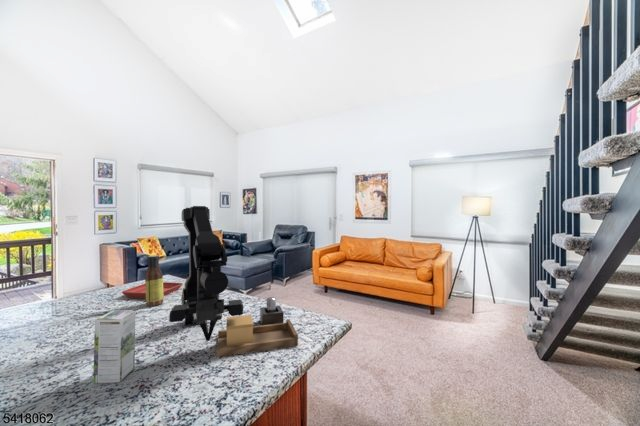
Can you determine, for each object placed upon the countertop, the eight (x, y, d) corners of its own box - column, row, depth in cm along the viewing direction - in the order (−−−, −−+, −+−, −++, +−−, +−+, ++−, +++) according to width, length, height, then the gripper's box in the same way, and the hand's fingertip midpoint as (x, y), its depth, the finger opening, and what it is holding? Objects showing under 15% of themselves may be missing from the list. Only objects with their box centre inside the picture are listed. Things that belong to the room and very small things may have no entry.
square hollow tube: (262, 328, 91) (262, 314, 91) (260, 320, 98) (260, 307, 98) (283, 325, 93) (283, 312, 93) (279, 318, 100) (279, 305, 100)
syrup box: (110, 369, 67) (110, 309, 67) (135, 368, 68) (136, 309, 68) (92, 384, 61) (93, 319, 61) (121, 383, 62) (121, 318, 62)
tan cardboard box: (226, 349, 76) (226, 326, 76) (226, 337, 83) (226, 317, 83) (253, 345, 79) (253, 323, 79) (251, 334, 85) (251, 314, 85)
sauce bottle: (166, 302, 117) (167, 254, 116) (156, 307, 110) (156, 257, 110) (152, 301, 117) (152, 254, 117) (141, 306, 111) (141, 256, 111)
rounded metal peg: (267, 321, 94) (267, 300, 93) (266, 317, 96) (265, 297, 96) (276, 319, 95) (276, 299, 94) (274, 316, 98) (274, 296, 97)
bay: (216, 357, 73) (216, 345, 73) (218, 337, 85) (218, 327, 85) (297, 345, 80) (297, 334, 80) (289, 328, 92) (289, 319, 92)
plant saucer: (149, 287, 139) (149, 281, 139) (184, 289, 137) (184, 282, 137) (120, 299, 121) (120, 291, 121) (159, 301, 119) (159, 293, 119)
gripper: (164, 296, 68) (164, 360, 68) (244, 290, 73) (243, 349, 73) (173, 284, 78) (173, 340, 78) (242, 280, 84) (242, 331, 84)
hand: (208, 340), depth 78 cm, fingers closed
